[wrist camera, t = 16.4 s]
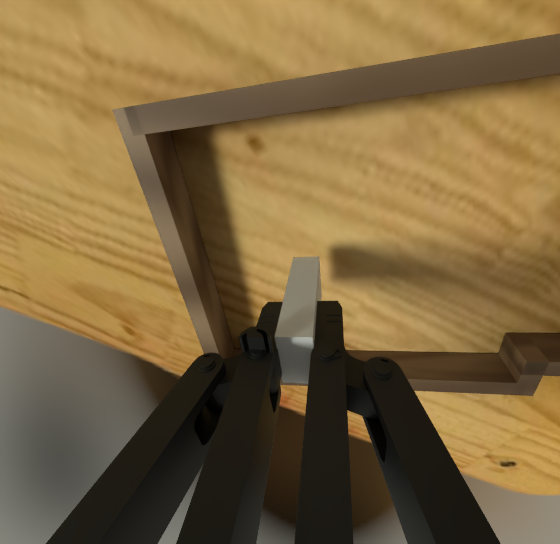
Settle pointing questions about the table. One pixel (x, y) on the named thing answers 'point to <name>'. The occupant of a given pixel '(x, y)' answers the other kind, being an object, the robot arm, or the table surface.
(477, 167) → the table surface
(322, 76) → the keyhole corral
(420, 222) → the table surface
